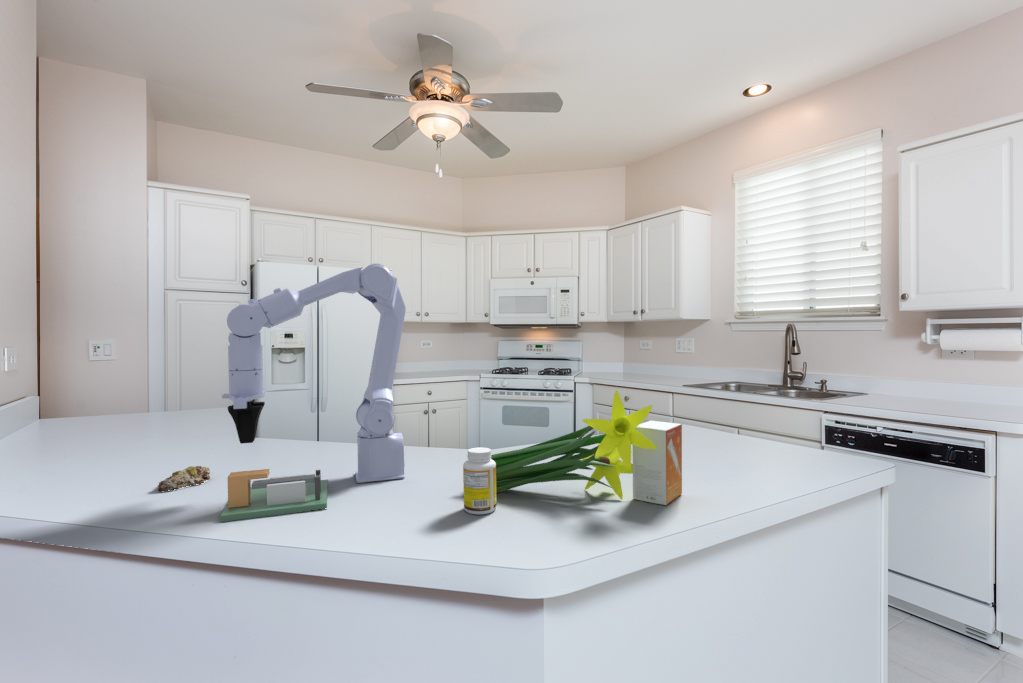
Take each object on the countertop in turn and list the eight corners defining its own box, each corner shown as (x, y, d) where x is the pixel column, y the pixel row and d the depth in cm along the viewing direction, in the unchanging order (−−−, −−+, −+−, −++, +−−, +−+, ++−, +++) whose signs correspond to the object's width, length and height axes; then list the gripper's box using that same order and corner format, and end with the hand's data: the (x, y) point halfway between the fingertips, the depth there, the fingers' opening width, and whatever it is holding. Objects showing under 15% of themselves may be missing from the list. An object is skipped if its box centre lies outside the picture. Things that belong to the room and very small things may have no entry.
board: (327, 484, 99) (327, 459, 99) (326, 509, 85) (326, 480, 85) (237, 494, 94) (237, 467, 94) (220, 522, 80) (219, 491, 80)
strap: (320, 477, 91) (320, 473, 91) (319, 482, 88) (319, 477, 88) (254, 484, 87) (253, 480, 87) (251, 490, 84) (251, 485, 84)
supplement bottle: (482, 502, 88) (481, 444, 88) (503, 509, 84) (502, 449, 84) (457, 509, 84) (456, 449, 84) (477, 518, 80) (477, 455, 80)
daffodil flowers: (495, 478, 105) (661, 439, 98) (490, 538, 93) (679, 499, 85) (463, 420, 97) (642, 373, 89) (453, 477, 84) (659, 428, 77)
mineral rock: (186, 466, 107) (216, 457, 105) (192, 485, 107) (222, 477, 105) (139, 482, 96) (172, 473, 95) (146, 504, 96) (178, 495, 95)
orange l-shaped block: (269, 498, 88) (269, 468, 88) (267, 503, 85) (267, 473, 85) (231, 502, 86) (230, 472, 86) (228, 507, 83) (227, 477, 83)
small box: (666, 506, 85) (666, 430, 84) (631, 499, 88) (631, 426, 88) (683, 494, 91) (682, 423, 91) (650, 487, 95) (649, 419, 95)
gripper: (229, 368, 99) (230, 436, 99) (212, 373, 85) (214, 452, 85) (268, 367, 101) (270, 433, 101) (258, 372, 88) (260, 448, 88)
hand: (247, 442), depth 94 cm, fingers closed
